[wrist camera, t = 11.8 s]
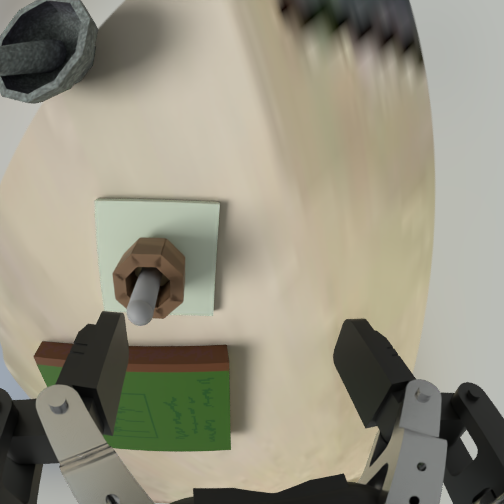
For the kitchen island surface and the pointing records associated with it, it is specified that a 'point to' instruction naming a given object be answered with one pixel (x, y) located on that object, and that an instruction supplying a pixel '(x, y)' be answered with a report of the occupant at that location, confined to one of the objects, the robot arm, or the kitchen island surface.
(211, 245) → the post
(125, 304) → the ring
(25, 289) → the kitchen island surface
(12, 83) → the mortar and pestle
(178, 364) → the hardcover book
